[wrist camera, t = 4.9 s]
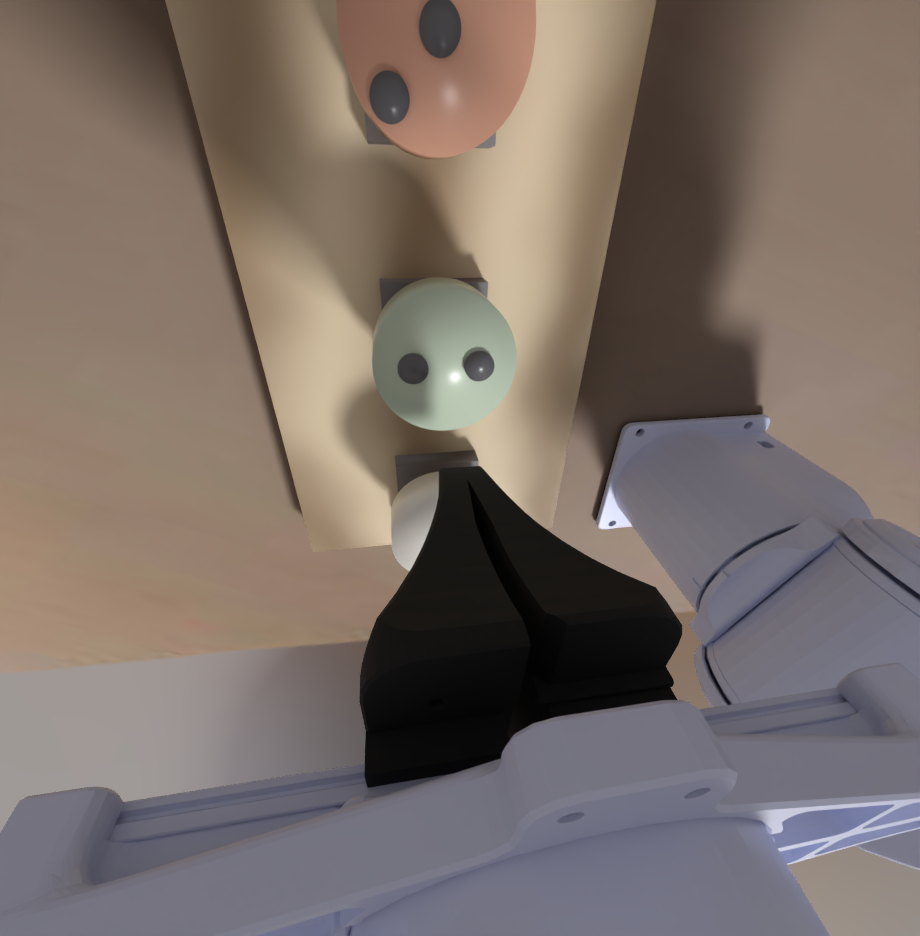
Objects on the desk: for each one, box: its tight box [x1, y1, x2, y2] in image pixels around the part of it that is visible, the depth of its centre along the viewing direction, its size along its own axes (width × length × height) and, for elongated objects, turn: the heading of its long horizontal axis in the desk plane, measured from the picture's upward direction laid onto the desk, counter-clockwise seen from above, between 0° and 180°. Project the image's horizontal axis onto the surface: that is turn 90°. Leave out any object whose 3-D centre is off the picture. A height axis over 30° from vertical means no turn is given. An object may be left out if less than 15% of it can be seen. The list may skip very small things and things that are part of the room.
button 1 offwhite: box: [391, 472, 439, 571], centre depth 19 cm, size 5×5×2 cm
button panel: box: [165, 0, 656, 552], centre depth 17 cm, size 14×24×3 cm, turn 179°
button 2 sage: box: [372, 277, 517, 431], centre depth 14 cm, size 5×5×2 cm
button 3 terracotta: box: [336, 0, 536, 160], centre depth 10 cm, size 5×5×2 cm
